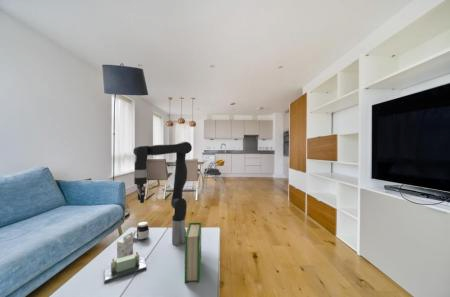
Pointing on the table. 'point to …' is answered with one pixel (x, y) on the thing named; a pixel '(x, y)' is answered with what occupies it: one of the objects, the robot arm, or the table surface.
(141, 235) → the spread jar
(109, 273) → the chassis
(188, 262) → the hardback book
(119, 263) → the green tabbed block
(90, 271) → the table surface
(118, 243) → the ink cartridge box
